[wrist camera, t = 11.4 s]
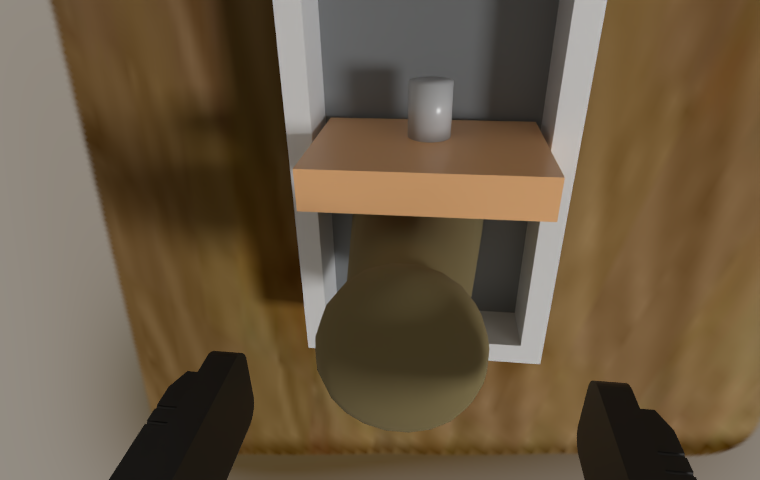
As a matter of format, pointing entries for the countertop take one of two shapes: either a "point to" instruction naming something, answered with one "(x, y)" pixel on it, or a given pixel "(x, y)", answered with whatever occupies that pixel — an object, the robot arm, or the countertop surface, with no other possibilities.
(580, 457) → the robot arm
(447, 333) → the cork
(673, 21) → the countertop surface
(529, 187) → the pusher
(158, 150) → the countertop surface
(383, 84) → the white walled tray
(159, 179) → the countertop surface
